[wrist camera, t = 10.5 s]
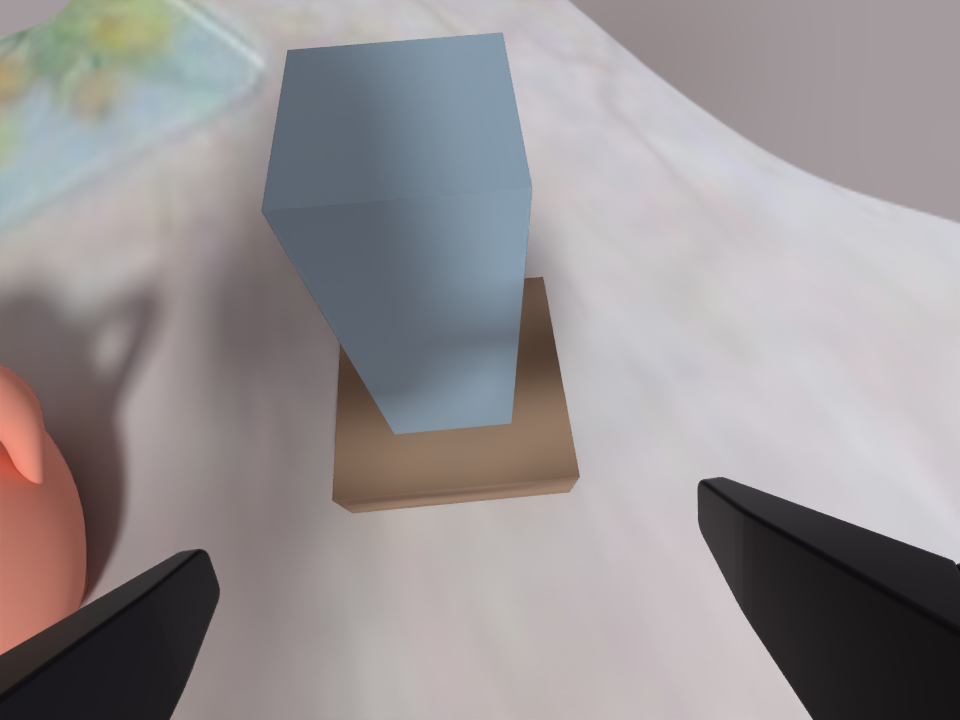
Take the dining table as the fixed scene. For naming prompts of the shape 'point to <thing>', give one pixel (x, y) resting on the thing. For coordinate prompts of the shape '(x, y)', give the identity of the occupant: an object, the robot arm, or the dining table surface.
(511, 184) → the blue block
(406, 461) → the walnut base
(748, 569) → the robot arm
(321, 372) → the dining table surface
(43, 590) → the teapot
